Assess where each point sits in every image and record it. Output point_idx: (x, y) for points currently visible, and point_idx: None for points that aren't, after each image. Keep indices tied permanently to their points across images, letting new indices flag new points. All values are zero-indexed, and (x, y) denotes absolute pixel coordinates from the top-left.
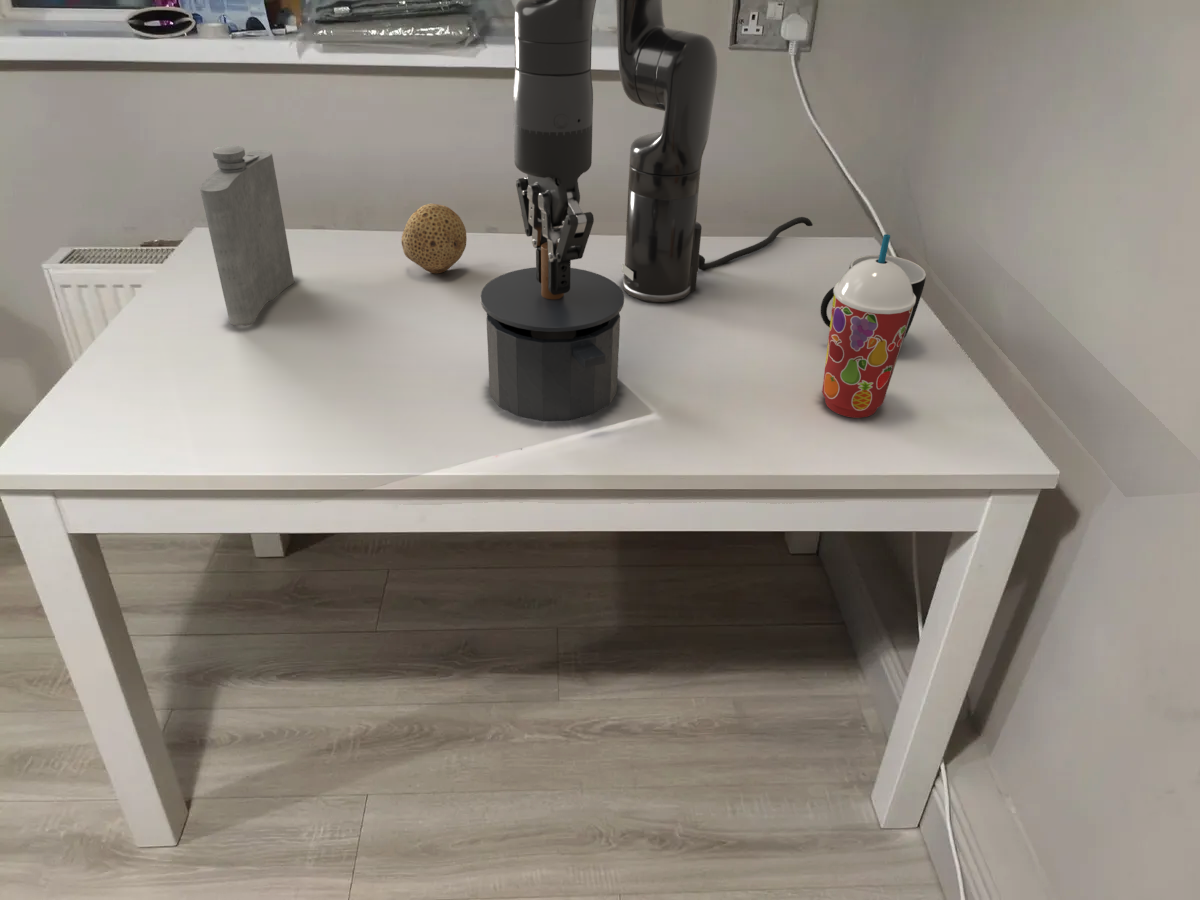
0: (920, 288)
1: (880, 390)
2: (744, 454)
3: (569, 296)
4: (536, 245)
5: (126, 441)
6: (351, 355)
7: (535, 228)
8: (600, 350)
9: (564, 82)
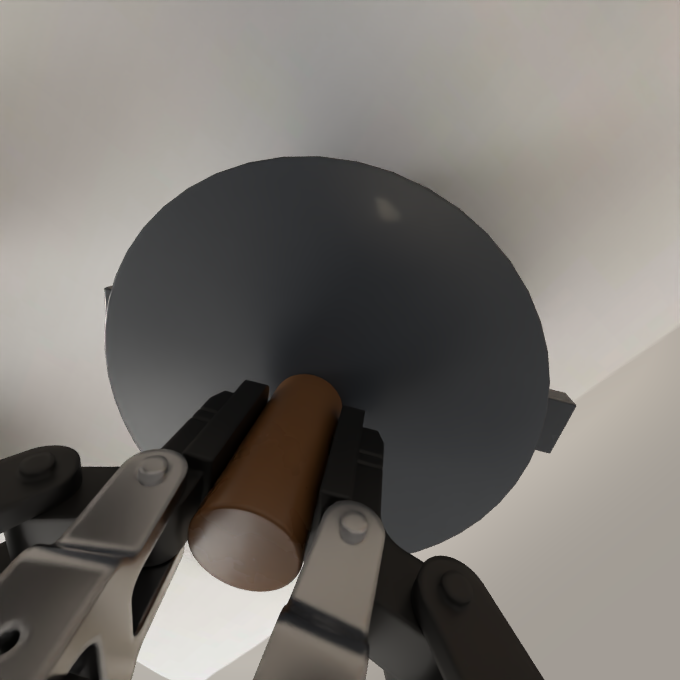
0: None
1: None
2: None
3: (346, 374)
4: (181, 555)
5: (192, 640)
6: (115, 451)
7: (131, 675)
8: (548, 399)
9: None
